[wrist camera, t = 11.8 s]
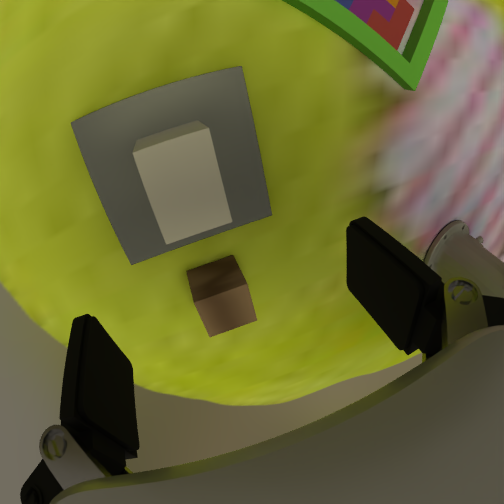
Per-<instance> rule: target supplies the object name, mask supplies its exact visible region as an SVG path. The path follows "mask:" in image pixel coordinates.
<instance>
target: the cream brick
mask: <svg viewBox="0 0 504 504" xmlns="http://www.w3.org/2000/svg"><path fill="white" fill-rule="evenodd" d="M133 156H134V159H135V162H136V165H137V168H138V171H139V174H140V176H141V179H142V182H143V185H144V188H145V190H146V193H147V196H148V199H149V201H150V204H151V207H152V209H153V212H154V215H155V217H156V220H157V222H158V225H159V228H160V230H161V233H162V235H163V238H164V240H165V243H166V245H167V244H170V243H173V242H176V241H178V240H181V239H184V238H187V237H190V236H193V235H196V234H199V233H201V232H204V231H207V230H210V229H213V228H216V227H219V226H222V225H225V224H228V223H231V222H232V218H231V214H230V210H229V206H228V202H227V198H226V194H225V191H224V187H223V183H222V179H221V175H220V171H219V167H218V163H217V159H216V155H215V150H214V146H213V142H212V138H211V134H210V130H209V128H208V127H207V126H205V125H204V124H203V123H201V122H200V121H198V120H197V121H193V122H190V123H186V124H183V125H180V126H177V127H173V128H170V129H167V130H164V131H161V132H158V133H155V134H152V135H149V136H147V137H144V138H141V139H138V140H137V141H136V144H135V147H134V150H133Z"/></svg>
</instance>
